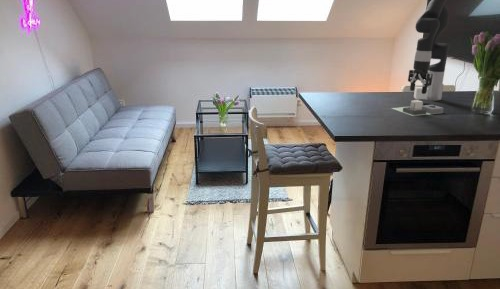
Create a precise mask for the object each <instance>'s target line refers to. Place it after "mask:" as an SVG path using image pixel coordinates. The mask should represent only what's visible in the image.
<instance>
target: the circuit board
mask: <svg viewBox="0 0 500 289" xmlns="http://www.w3.org/2000/svg"><path fill="white" fill-rule="evenodd" d="M406 107H407V106H402V107H401V106H400V107H391V108H390V109H392V110H395V111H398V112H400V113H403V114H405V115H409V116H412V117H415V116H416V117H417V116H427V115H434V114H435V115H436V114H443V113H444V107H442V106H439V105H434V104H425V105H424V104H422V109H425V110H426V114H417V115H412V114H409V113H406V112H403V108H406Z"/></svg>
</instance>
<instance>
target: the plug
mask: <svg viewBox="0 0 500 289" xmlns="http://www.w3.org/2000/svg"><path fill="white" fill-rule="evenodd" d="M422 105H424V103H423V101H422V100H420V99H418V100H417V99H414V100H411V101H410V106H409V107H410V109H411V110H422Z"/></svg>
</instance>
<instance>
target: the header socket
mask: <svg viewBox="0 0 500 289" xmlns="http://www.w3.org/2000/svg"><path fill="white" fill-rule="evenodd" d="M405 107H406V108H403V112H406V113H409V114H412V115H417V114H426V110H425V109H422V110H411V109H410V106H405ZM403 112H402V113H403ZM406 113H405V114H406ZM409 114H408V115H409Z"/></svg>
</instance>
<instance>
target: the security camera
mask: <svg viewBox="0 0 500 289" xmlns="http://www.w3.org/2000/svg"><path fill="white" fill-rule="evenodd" d="M422 87H423V86H416V85H415V90H414V92H413V93H414V94H413V98H414V100H426V101H428V100H427V97H428V90H429V89H428V88H427V92H426V94H422Z"/></svg>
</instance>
